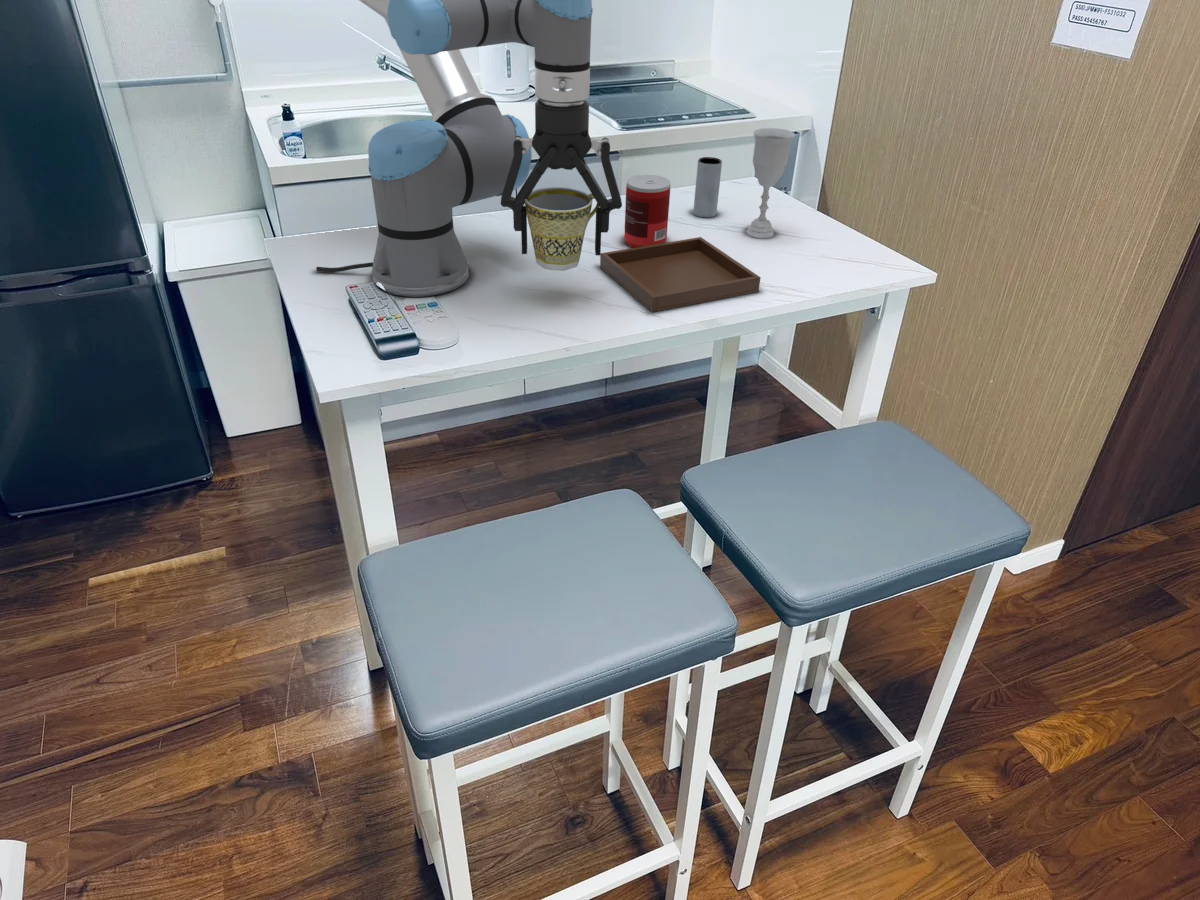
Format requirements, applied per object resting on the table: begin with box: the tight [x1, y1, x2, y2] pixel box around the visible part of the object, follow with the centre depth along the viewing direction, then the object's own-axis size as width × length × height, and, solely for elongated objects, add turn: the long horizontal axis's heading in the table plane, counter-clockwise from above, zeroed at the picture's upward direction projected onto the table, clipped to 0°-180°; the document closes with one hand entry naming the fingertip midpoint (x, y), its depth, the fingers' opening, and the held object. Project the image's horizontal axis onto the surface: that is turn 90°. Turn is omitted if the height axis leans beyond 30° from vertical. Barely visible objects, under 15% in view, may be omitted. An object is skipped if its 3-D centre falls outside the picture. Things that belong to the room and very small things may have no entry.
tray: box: [599, 236, 761, 313], centre depth 138 cm, size 20×19×2 cm
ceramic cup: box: [524, 186, 599, 272], centre depth 127 cm, size 13×10×10 cm
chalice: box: [746, 127, 796, 239], centre depth 151 cm, size 7×7×18 cm
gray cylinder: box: [692, 156, 723, 218], centre depth 161 cm, size 4×4×10 cm
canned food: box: [623, 174, 671, 248], centre depth 148 cm, size 8×8×11 cm
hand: (561, 251), depth 129 cm, fingers closed on ceramic cup, 10 cm apart
